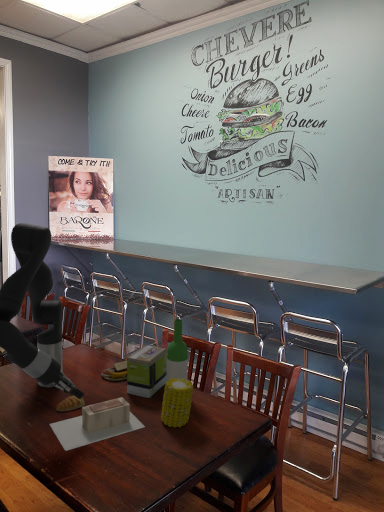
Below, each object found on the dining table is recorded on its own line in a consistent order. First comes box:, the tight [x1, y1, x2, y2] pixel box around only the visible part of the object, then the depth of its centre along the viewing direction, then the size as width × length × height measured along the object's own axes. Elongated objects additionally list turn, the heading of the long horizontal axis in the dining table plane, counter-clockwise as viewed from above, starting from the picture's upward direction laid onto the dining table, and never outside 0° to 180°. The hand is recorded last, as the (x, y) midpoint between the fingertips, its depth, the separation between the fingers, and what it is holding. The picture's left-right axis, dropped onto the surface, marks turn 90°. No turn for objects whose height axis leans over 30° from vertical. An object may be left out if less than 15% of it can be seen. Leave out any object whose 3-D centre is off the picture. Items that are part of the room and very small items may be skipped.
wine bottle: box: [166, 318, 189, 382], centre depth 161 cm, size 8×8×30 cm
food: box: [160, 378, 194, 428], centre depth 144 cm, size 15×12×10 cm
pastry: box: [55, 395, 86, 412], centre depth 152 cm, size 9×7×4 cm
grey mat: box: [49, 411, 146, 452], centre depth 141 cm, size 17×26×1 cm, turn 123°
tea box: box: [126, 344, 168, 399], centre depth 168 cm, size 15×10×15 cm, turn 157°
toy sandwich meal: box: [100, 359, 127, 382], centre depth 180 cm, size 12×14×5 cm
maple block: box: [81, 396, 131, 433], centre depth 142 cm, size 6×6×14 cm
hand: (81, 395), depth 136 cm, fingers closed
